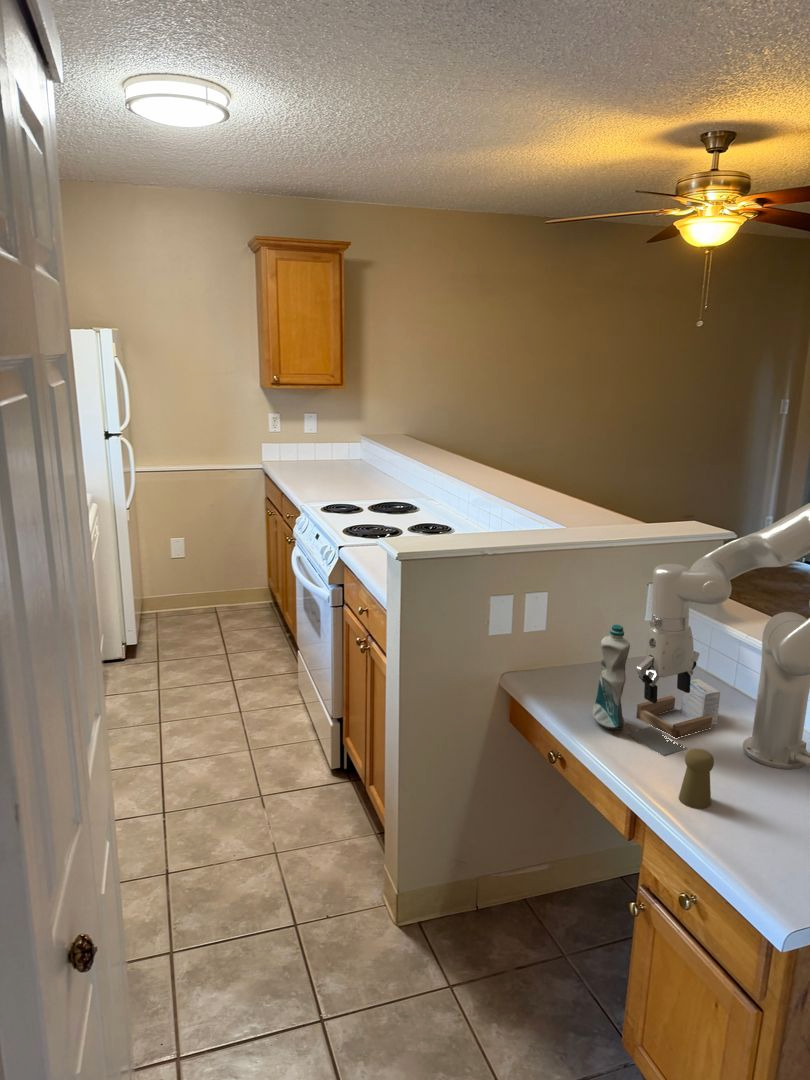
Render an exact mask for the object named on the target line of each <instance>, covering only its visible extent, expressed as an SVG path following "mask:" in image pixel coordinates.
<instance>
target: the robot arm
mask: <svg viewBox="0 0 810 1080" xmlns="http://www.w3.org/2000/svg"><path fill="white" fill-rule="evenodd" d="M808 554H810V502H808V503H807V504H804V505H803V506H802V507H800V508H797V509H796V510H794V511H793V512H791V513H789V514H787V515H786V516H784V517H782V518H780V519H778V520H777V521H775V522H773V523H772V524H770V525H767V526H766V527H764V528H762V529H760V530H758V531H756V532H752V533H750V534H747V535H745V536H742V537H740V538H737V539H734V540H732V541H729V542H727V543H725V544H723V545H721V546H719V547H717V548H716V549H714V550H712V551H711V552H709V553H707V554H705V555H704V556H702V557H700V558H698V559H697V560H696V561H695V562H694V563H693V564H692V565H691V566H690V568H688V567H687V566H685V565H681V564H677V563H662V564H659V565H657V566H655V568H654V569H653V574H652V596H651V600H652V603H651V620H650V621H649V626H650V627H651V628H649V632H648V637H647V642H646V648H645V659H644V660H643V661H642V662H641V663H640V664H639V665H638V666H636V669H635V670H636V672H637V674H638V677H639V679H640V680H641V682H642V683H644V691H643V693H644V694H643V695H644V696H643V697H644V699H645V700H646V701H647V702H649V701H650V702H652V703H656V702H657V699H658V689H659V688H658V685H656V684H657V682H658V681H659V679H660V678H663V679H664V678H668V677H672V676H675V675H677V682H676V687H677V689H678V690H680V691H682V692H683V691H684V692H686V693H690V681H691V680H692V678H691V677H692V675H693V674H694V669H695V668H696V666H697V662H698V660H699V657H700V653H699V652H698V651H695V650H694V637H693V636H694V635H693V633H692V632H693V631H692V627H691V626H690V625H689V619H690V603H694V604H699V605H700V604H701V605H704V606H717V605H720V604H723V603H724V602H726V601H727V600H728V599H729V598H730V596H731V594H732V583H731V580H733V579H735V578H737V577H739V576H740V575H742V574H745V573H747V572H750V571H751V570H755V569H760V568H778V567H779V568H780V567H785V566H788V565H790V564H793V562H796V561H797V560H799V559H801V558H803V557H804V556H806V555H808ZM808 604H809V607H810V600H809V603H808ZM761 642H762V643H761V663H760V664H761V665H760V673H759V681H758V689H757V696H756V704H755V710H754V717H753V726H752V732H751V733H752V734H751V736H750V737H747V738H746V739H744V740H743V744H742V749H743V752H744V753H745V755H747V756H748V757H749V758H750V759H752V760H753V761H755V762H756V763H760V764H762V765H765V766H767V767H771V768H776V769H783V770H784V769H785V770H793V769H800V768H802V767H807V768H808V769H810V752H809V751H807V742H806V741H804V740H803V736H804V730H805V722H806V714H807V709H808V708H807V707H808V702H809V694H810V617H808V618H806V617H805V616H803V615H802V614H799V613H797V612H792V611H784V612H779V613H777V614H775V615H772V617H771V618H769V620H768V621H767V623H766V624H765V626H764V629H763V633H762V640H761ZM652 675H653V676H652ZM651 676H652V678H651Z"/></svg>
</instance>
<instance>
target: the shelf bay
mask: <svg viewBox="0 0 810 1080" xmlns="http://www.w3.org/2000/svg"><path fill="white" fill-rule="evenodd" d="M675 705H676V697H675V696H673V695H670V696H665V697H660V698H657V702H656V703H652V702H650V701H646V702H642V703H638V704H637V706H636V707H637V708H636V719H638V720H640V721H641V722H643V723H646V724H647V725H649V724H650V725H649V726H651V725H652V726H653V727H652V726H651V727H652V728H654V727H655V728H654V729H656V728H658V729H660V730H662V731H664V732H666V733H668V734H670V735H671V736H673V737H675V738H678V737H681V736H685V735H688V734H692V733H695V732H698V731H702V730H705V729H709V728H711V729H712V725H713V724H712V716H710V715H705V716H702V717H698V718H694V719H688V720H684V721H680V722H677V723H673V724H670V723H669V722H668V721H665V720H663V719H662V718H660V717H658V715H661V714H660V713H662V714H664V713H663V712H666V711H669V712H671V711H670V710H673V709H674V710H675ZM674 710H673V711H674ZM666 713H667V712H666ZM657 714H658V715H657ZM711 724H712V725H711ZM658 729H657V730H658ZM660 730H659V731H660ZM709 730H710V729H709ZM705 731H706V730H705ZM702 732H703V731H702ZM695 734H696V733H695ZM692 735H693V734H692Z"/></svg>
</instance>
